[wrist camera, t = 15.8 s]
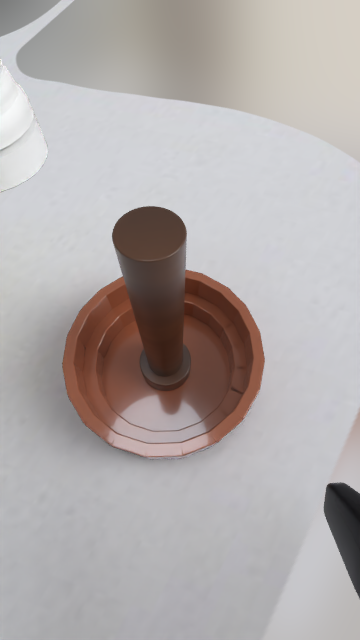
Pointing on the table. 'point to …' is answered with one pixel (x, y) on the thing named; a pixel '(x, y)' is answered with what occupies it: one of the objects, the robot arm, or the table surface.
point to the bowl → (155, 405)
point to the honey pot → (18, 135)
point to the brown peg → (156, 290)
